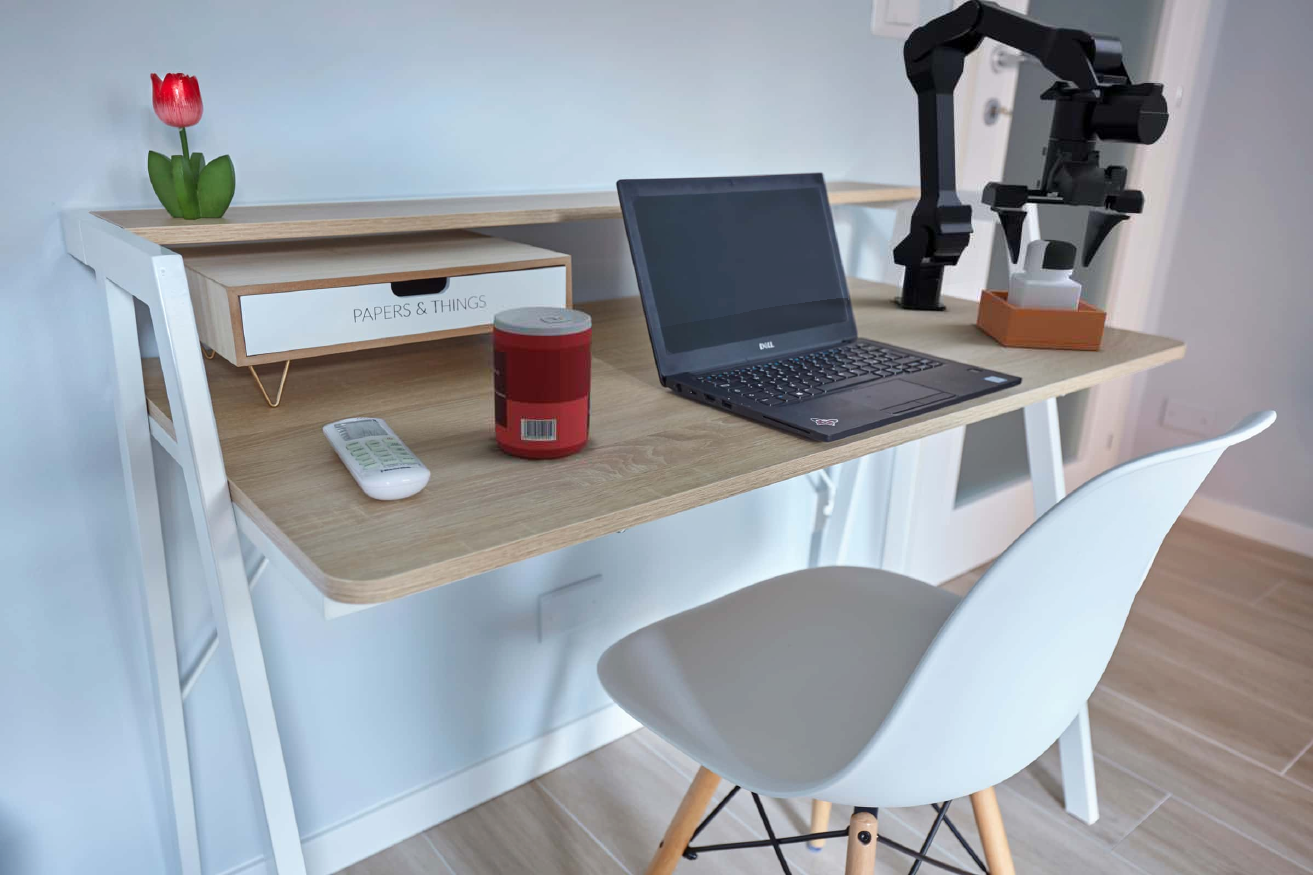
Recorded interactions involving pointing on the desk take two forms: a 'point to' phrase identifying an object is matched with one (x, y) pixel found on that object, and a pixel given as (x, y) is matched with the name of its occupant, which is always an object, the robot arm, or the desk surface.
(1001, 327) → the bin
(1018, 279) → the medicine bottle
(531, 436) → the canned food
